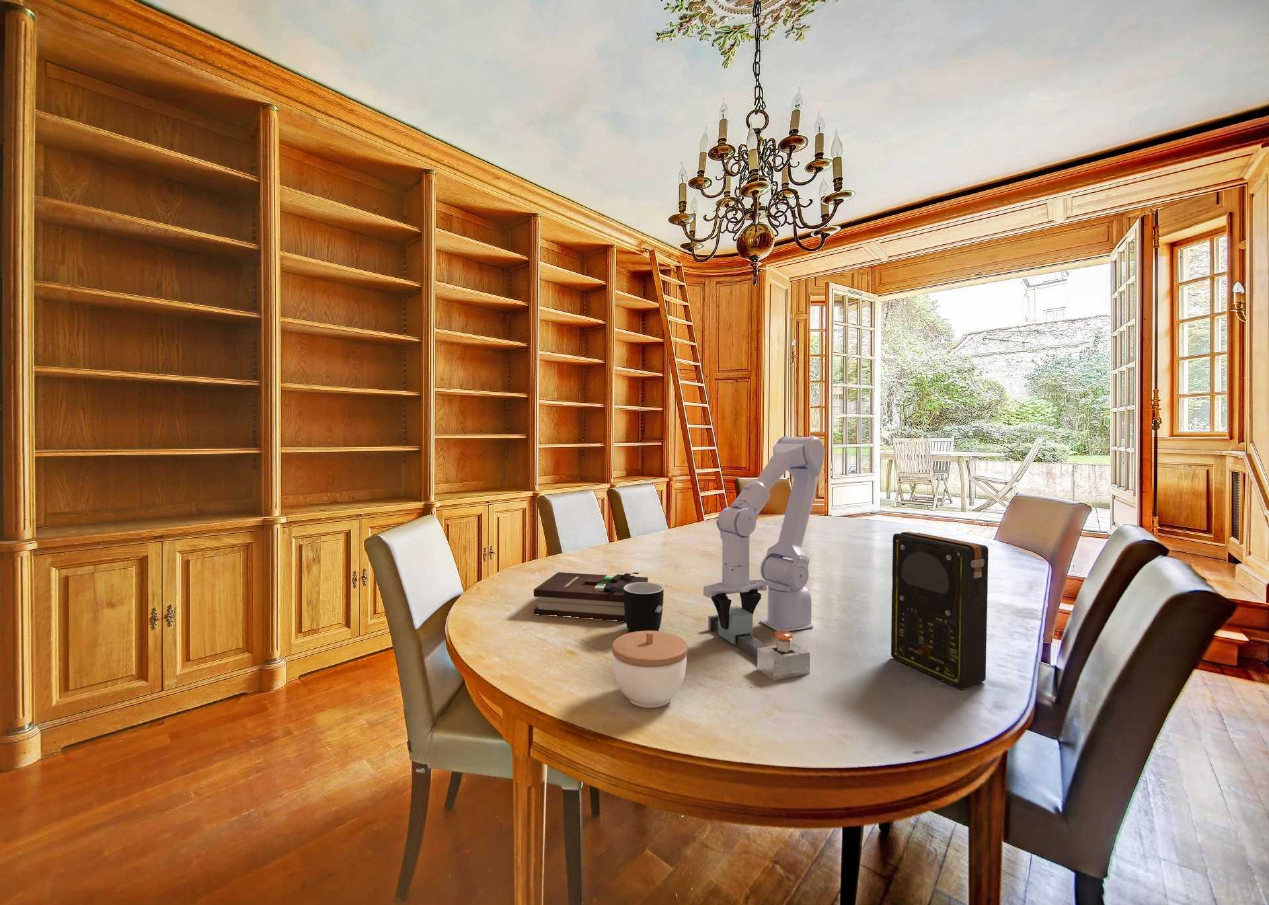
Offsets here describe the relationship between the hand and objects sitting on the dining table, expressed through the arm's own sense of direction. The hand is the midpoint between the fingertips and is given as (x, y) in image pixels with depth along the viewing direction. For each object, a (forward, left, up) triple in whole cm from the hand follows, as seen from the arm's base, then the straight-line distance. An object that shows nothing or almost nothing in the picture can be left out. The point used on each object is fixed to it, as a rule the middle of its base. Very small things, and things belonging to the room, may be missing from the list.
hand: (735, 626), depth 115 cm
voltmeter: (-27, +27, -3) cm, 38 cm away
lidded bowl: (+27, +17, -3) cm, 32 cm away
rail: (0, +4, -3) cm, 5 cm away
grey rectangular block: (0, +17, -3) cm, 17 cm away
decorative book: (+22, -32, -4) cm, 39 cm away
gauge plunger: (0, +17, -1) cm, 17 cm away
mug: (+16, -12, -3) cm, 20 cm away
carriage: (0, 0, -3) cm, 3 cm away
